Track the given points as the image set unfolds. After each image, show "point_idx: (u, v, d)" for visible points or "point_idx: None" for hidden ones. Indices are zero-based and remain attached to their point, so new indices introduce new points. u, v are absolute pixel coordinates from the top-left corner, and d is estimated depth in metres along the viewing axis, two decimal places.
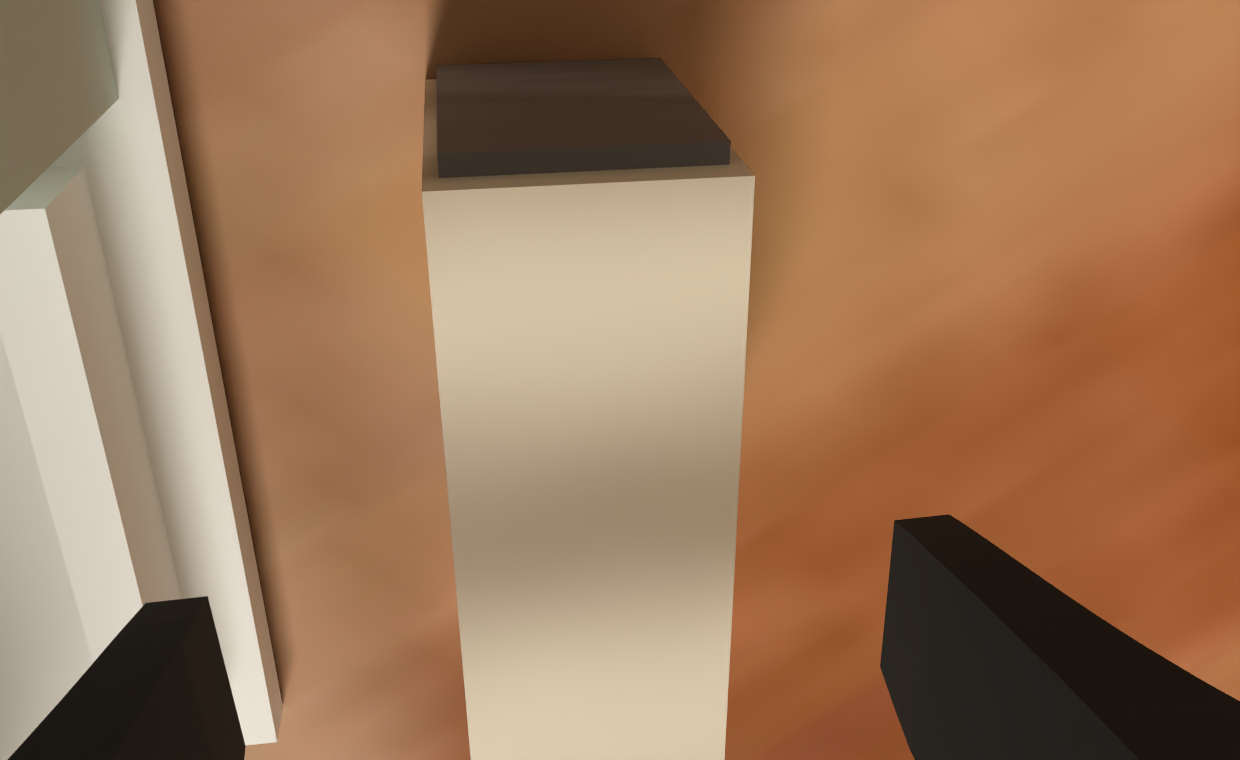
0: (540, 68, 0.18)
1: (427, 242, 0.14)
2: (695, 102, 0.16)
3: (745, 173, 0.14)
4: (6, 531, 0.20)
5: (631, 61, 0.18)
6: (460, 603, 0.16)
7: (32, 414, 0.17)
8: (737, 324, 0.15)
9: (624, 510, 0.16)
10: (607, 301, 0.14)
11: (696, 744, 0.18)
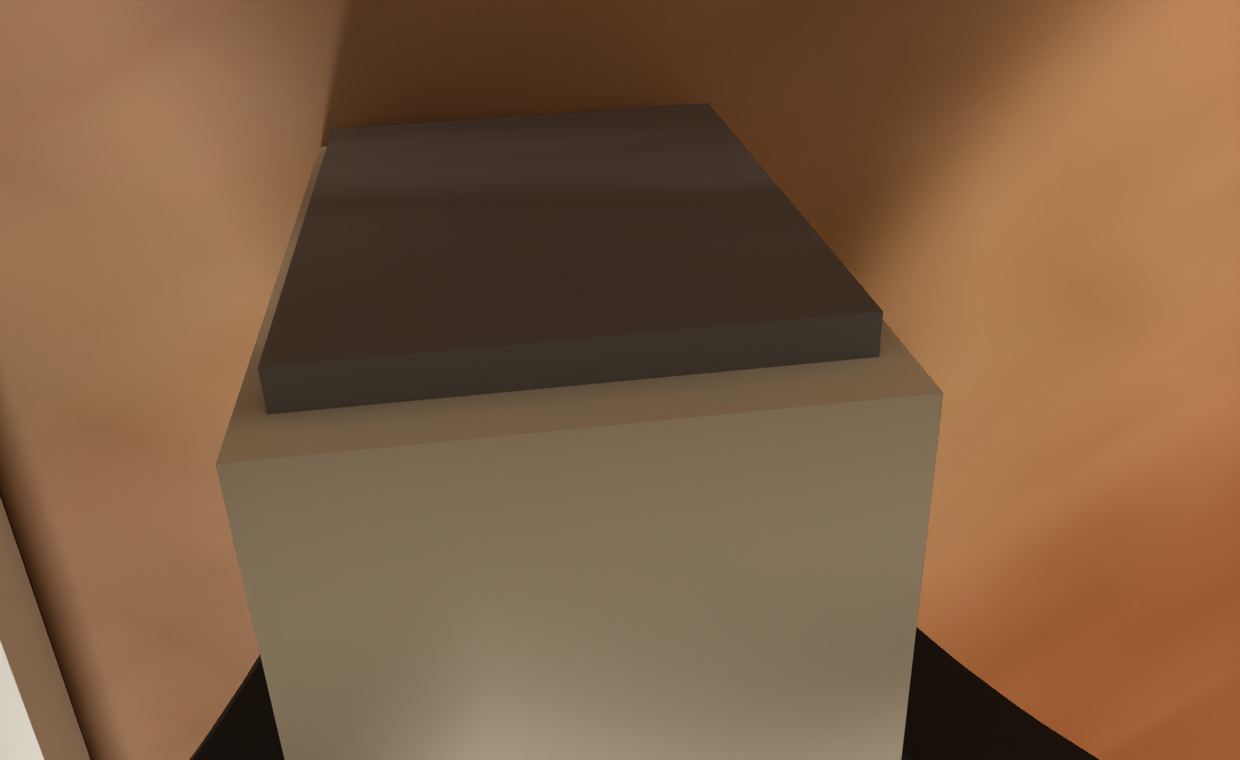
0: (506, 130, 0.10)
1: (240, 561, 0.06)
2: (787, 203, 0.08)
3: (920, 385, 0.07)
4: None
5: (660, 112, 0.11)
6: None
7: None
8: (893, 663, 0.07)
9: None
10: (631, 641, 0.07)
11: None
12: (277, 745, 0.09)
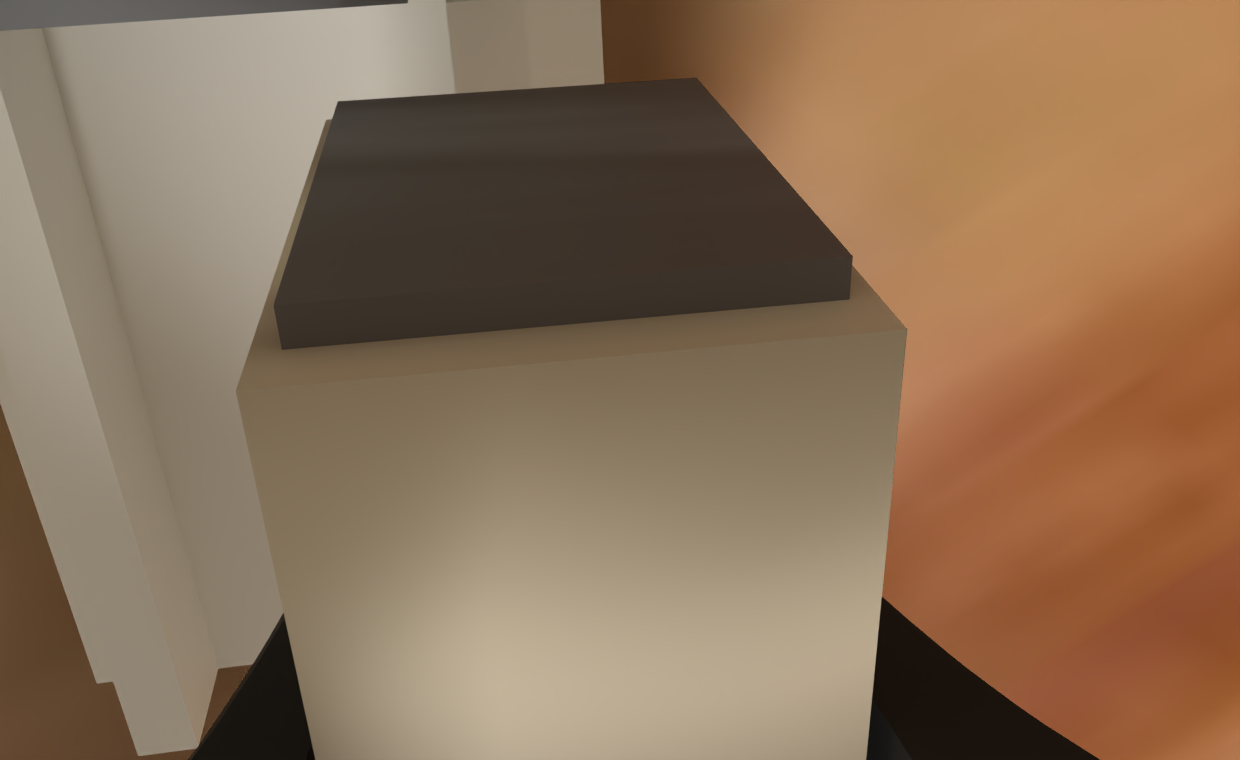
0: (503, 102, 0.11)
1: (258, 483, 0.07)
2: (768, 165, 0.09)
3: (886, 323, 0.07)
4: None
5: (650, 85, 0.11)
6: None
7: None
8: (864, 589, 0.08)
9: None
10: (620, 565, 0.07)
11: None
12: (276, 745, 0.09)
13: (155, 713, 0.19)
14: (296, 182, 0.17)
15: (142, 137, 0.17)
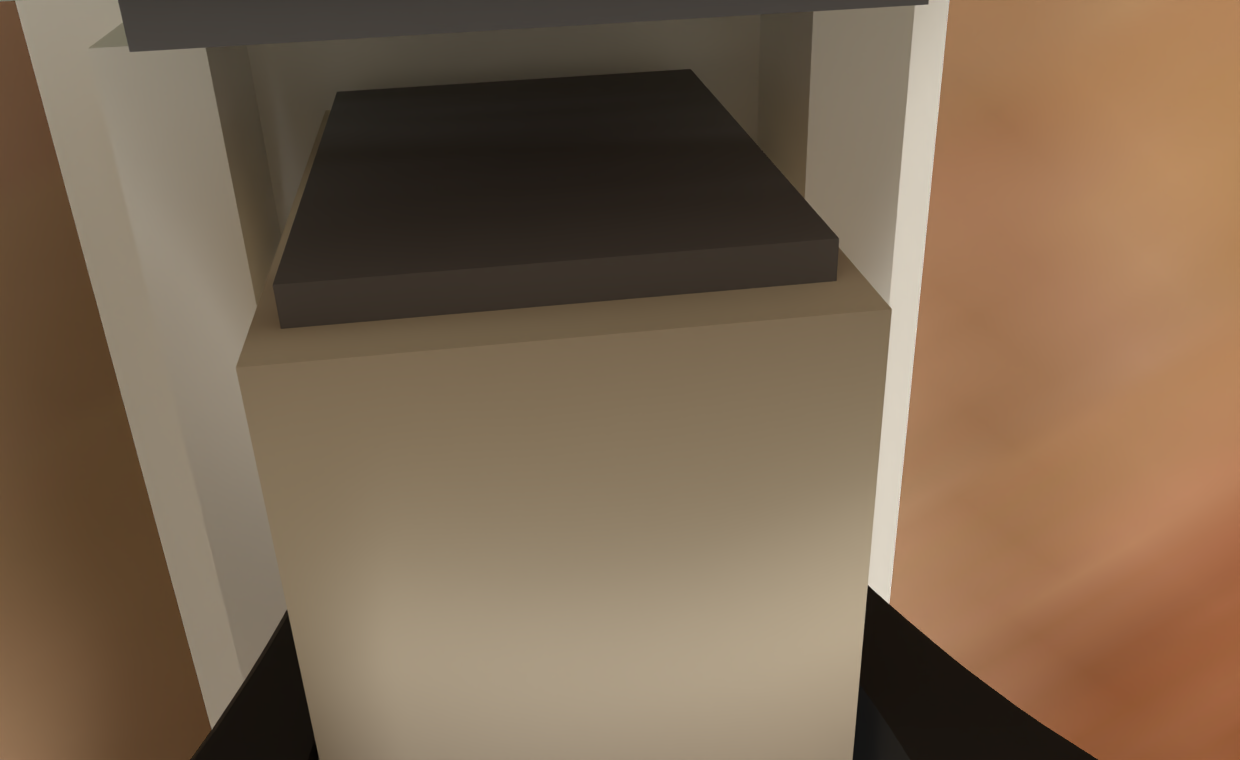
0: (500, 92, 0.11)
1: (257, 458, 0.07)
2: (759, 151, 0.09)
3: (872, 303, 0.07)
4: None
5: (645, 76, 0.12)
6: None
7: None
8: (851, 565, 0.08)
9: None
10: (611, 540, 0.08)
11: None
12: (278, 745, 0.09)
13: None
14: None
15: None
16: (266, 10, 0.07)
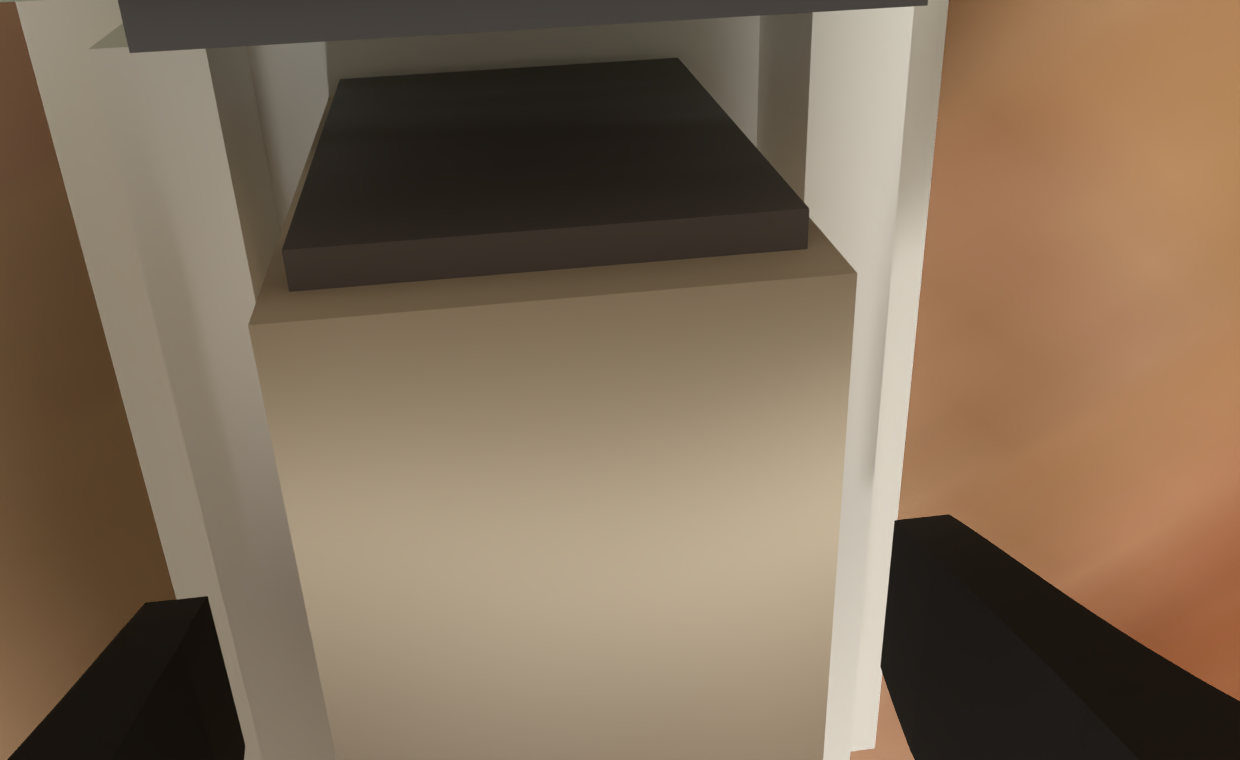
0: (496, 79, 0.12)
1: (267, 411, 0.08)
2: (739, 132, 0.10)
3: (839, 268, 0.08)
4: None
5: (635, 64, 0.12)
6: None
7: None
8: (823, 518, 0.09)
9: None
10: (597, 494, 0.08)
11: None
12: None
13: None
14: None
15: None
16: (266, 11, 0.07)
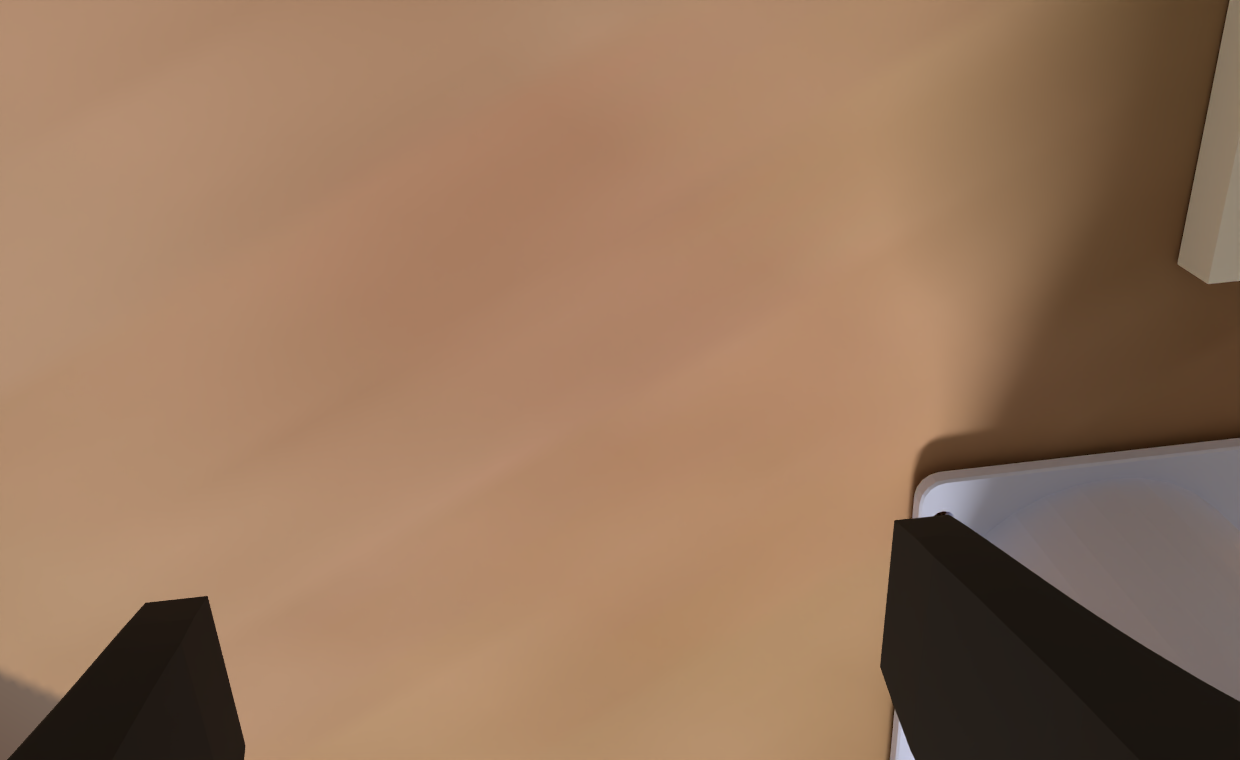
0: None
1: None
2: None
3: None
4: None
5: None
6: None
7: None
8: None
9: None
10: None
11: None
12: None
13: None
14: None
15: None
16: None
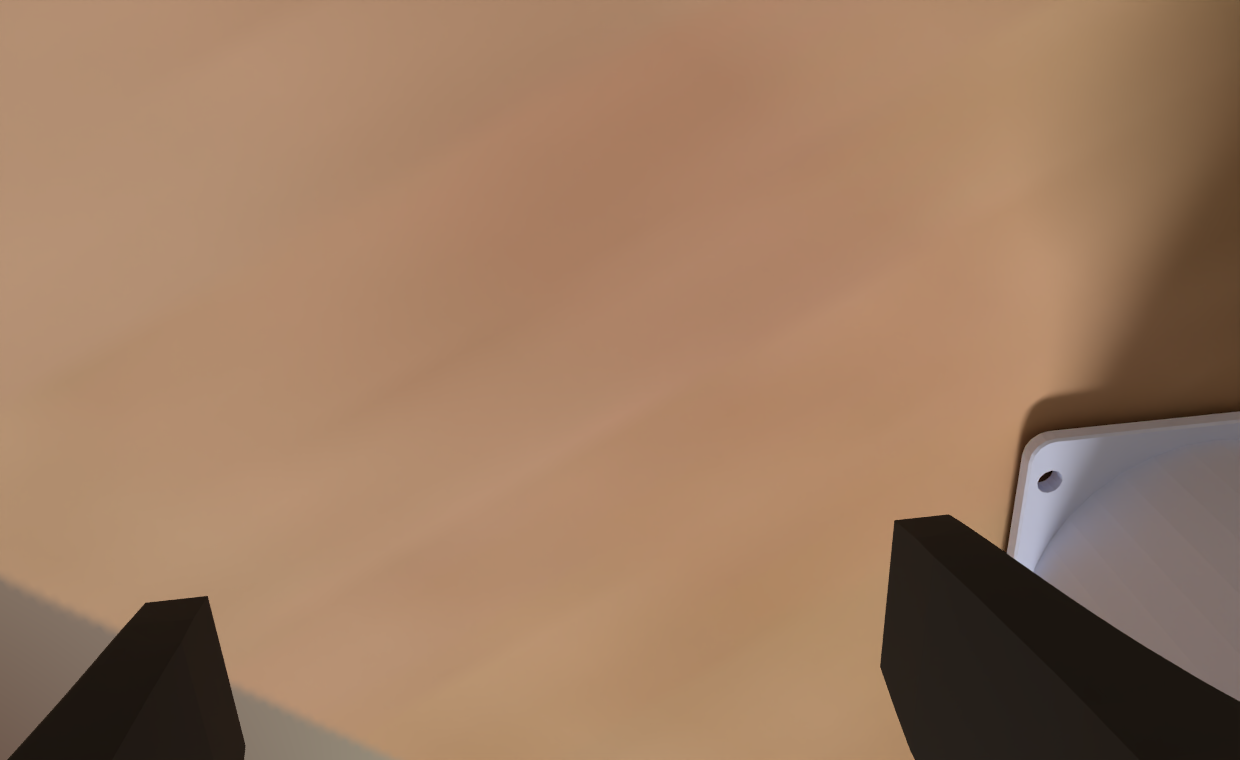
0: None
1: None
2: None
3: None
4: None
5: None
6: None
7: None
8: None
9: None
10: None
11: None
12: None
13: None
14: None
15: None
16: None
